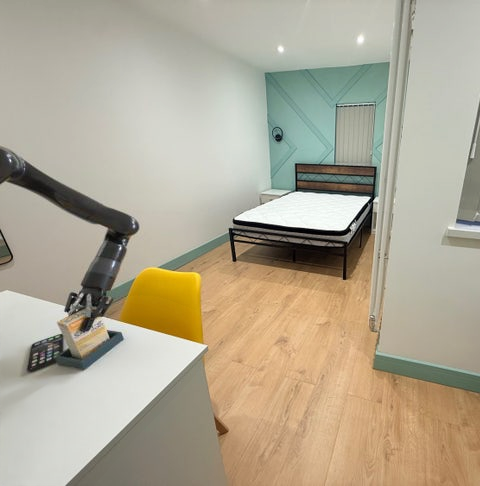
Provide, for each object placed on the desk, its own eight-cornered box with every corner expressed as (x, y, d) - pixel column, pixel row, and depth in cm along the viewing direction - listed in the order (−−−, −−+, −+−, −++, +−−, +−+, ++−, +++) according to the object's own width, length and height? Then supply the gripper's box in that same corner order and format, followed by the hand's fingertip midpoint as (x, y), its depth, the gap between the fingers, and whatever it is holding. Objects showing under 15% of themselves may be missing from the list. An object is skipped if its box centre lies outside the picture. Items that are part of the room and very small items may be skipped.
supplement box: (83, 361, 76) (65, 325, 72) (72, 357, 78) (55, 321, 73) (112, 342, 84) (98, 308, 79) (102, 338, 85) (88, 305, 80)
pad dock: (57, 365, 76) (53, 357, 75) (100, 335, 87) (97, 328, 86) (84, 370, 74) (81, 362, 73) (124, 339, 86) (121, 332, 85)
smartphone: (63, 332, 88) (62, 357, 77) (63, 334, 88) (63, 359, 78) (31, 343, 83) (26, 371, 73) (32, 345, 83) (27, 373, 73)
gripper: (71, 268, 80) (41, 325, 74) (110, 272, 77) (83, 332, 71) (94, 275, 87) (69, 328, 80) (131, 279, 84) (107, 334, 78)
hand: (75, 329), depth 76 cm, fingers closed on supplement box, 5 cm apart
